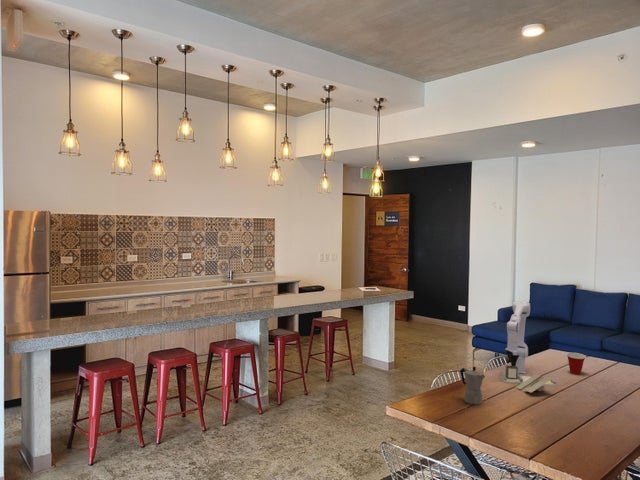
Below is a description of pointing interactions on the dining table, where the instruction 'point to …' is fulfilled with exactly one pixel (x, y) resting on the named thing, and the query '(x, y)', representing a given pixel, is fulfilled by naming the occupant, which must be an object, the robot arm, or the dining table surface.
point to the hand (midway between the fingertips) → (511, 364)
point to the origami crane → (533, 383)
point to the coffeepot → (472, 385)
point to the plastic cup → (575, 362)
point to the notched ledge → (523, 378)
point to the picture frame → (511, 372)
